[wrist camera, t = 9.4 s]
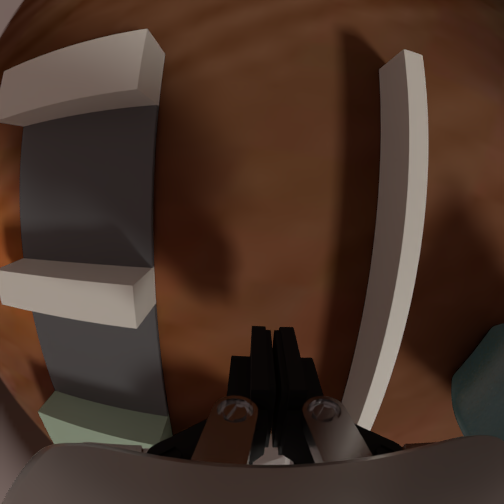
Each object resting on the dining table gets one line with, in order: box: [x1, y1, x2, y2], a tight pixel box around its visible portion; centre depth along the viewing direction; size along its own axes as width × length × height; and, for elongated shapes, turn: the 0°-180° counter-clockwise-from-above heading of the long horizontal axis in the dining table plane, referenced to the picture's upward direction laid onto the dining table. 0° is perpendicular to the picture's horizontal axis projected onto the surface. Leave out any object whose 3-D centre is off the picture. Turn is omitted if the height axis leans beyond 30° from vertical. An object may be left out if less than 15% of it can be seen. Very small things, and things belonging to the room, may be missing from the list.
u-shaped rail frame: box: [0, 29, 428, 448], centre depth 14 cm, size 28×21×3 cm
